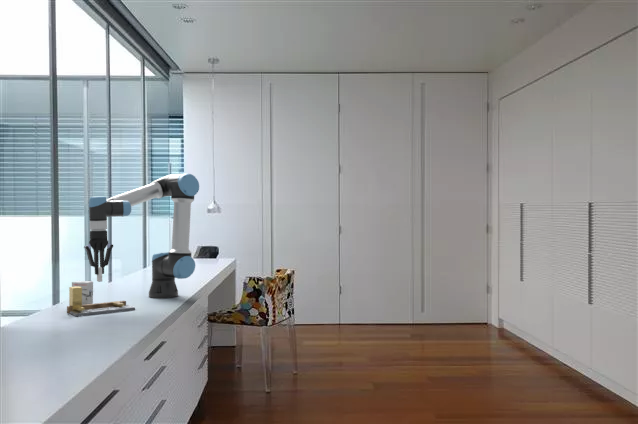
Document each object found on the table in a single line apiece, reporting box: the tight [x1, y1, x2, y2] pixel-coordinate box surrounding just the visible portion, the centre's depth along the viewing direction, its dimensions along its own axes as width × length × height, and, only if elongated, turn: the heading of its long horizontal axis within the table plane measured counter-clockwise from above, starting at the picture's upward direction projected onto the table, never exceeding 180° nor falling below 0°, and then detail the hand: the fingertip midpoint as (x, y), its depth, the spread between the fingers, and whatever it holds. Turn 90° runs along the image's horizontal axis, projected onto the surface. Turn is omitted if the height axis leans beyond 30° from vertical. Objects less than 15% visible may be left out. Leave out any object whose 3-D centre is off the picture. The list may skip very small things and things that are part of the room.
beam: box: [66, 300, 127, 314], centre depth 264 cm, size 26×9×3 cm, turn 130°
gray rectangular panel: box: [69, 304, 136, 317], centre depth 261 cm, size 26×8×1 cm, turn 130°
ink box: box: [71, 280, 94, 305], centre depth 276 cm, size 9×5×12 cm, turn 84°
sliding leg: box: [68, 286, 85, 311], centre depth 258 cm, size 4×10×11 cm, turn 40°
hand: (99, 281), depth 267 cm, fingers closed
